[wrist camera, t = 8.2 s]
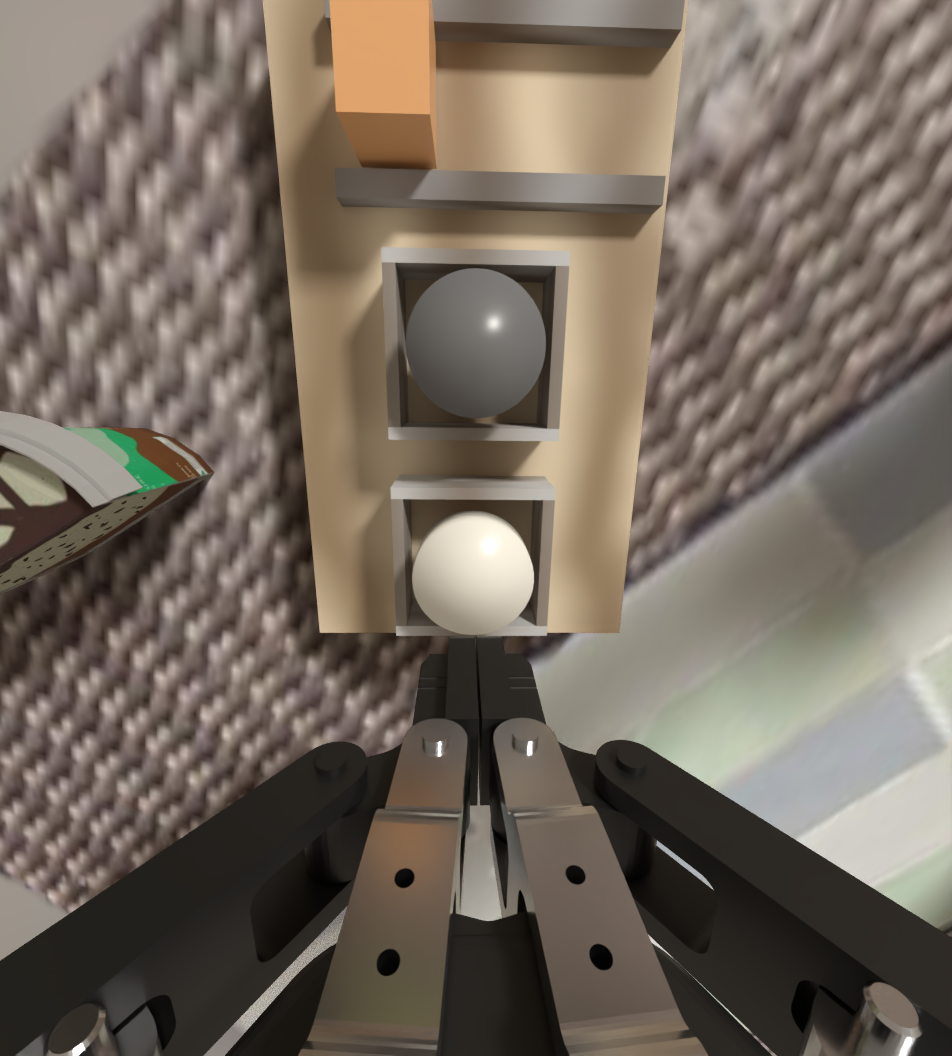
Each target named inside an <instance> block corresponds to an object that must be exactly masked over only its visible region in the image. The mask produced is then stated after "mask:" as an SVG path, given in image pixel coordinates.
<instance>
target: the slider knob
mask: <svg viewBox="0 0 952 1056" xmlns="http://www.w3.org/2000/svg"><path fill="white" fill-rule="evenodd" d="M329 1H330V18H331V35H332V52H333V69H334V86H335V103H336V113H337V115H338V117H339V119H340V121H341V123H342V126H343V128H344V130H345V132H346V134H347V136H348V138H349V141H350V143H351V145H352V147H353V149H354V151H355V153H356V156H357V158H358V160H359V162H360V164H361V166H362V167H379V168H419V169H437V130H436V42H435V30H434V18H433V6H432V0H329Z"/></svg>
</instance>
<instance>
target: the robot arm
mask: <svg viewBox="0 0 952 1056" xmlns="http://www.w3.org/2000/svg"><path fill="white" fill-rule="evenodd" d="M478 768H479V790H480V805H490V813H491V829H490V839H491V847H492V853H493V860H494V867H495V874H496V880H497V887H498V894H499V901H500V907H501V914H502V919H498V920H495V921H483V920H479V919H475V918H471V917H468V916H464V915H461V910H462V896H463V882H464V867H465V853H466V831H467V829H468V827H469V821H470V805H477V793H478ZM657 840H658V841H659V842H660V843H662V844H663V845H664V846H665V847H667V848H668V849H669V850H671V851H672V852H673V853H675V854H676V855H677V856H678V857H680V858H681V859H682V860H684V861H685V862H686V863H688V864H689V865H690V866H691V867H693V868H694V869H695V870H697V871H698V872H699V873H700V874H702V875H703V876H704V877H705V878H706V879H707V881H708V882H709V883H710V884H711V886H712V887H713V889H714V890H712V889H711V888H710V887H709V886H707V885H706V884H705V883H703V882H702V881H701V880H700V879H698V878H697V877H696V876H695V875H693V874H692V873H691V872H689V871H688V870H687V869H686V868H684V867H683V866H682V865H680V864H679V863H678V862H677V861H675V860H674V859H673V858H671V857H670V856H669V855H668V854H666V853H665V852H664V851H663V850H661V849H660V848H659V847H657V846H656V843H657ZM347 905H348V907H347V910H346V913H345V917H344V920H343V924H342V927H341V931H340V934H339V937H338V941H337V943H336V944H334V945H333V946H331V947H329V948H328V949H326V950H325V951H324V952H322V953H321V954H320V955H318V956H317V957H316V958H314V959H313V960H312V961H311V962H310V963H309V964H308V965H307V966H305V967H304V968H303V969H302V970H301V971H300V972H299V973H298V974H297V975H296V976H295V977H294V978H293V979H292V980H291V982H290V983H289V984H288V985H287V986H286V987H285V988H284V989H283V991H282V992H281V993H280V994H279V995H278V996H277V997H276V998H275V1000H274V1001H273V1002H272V1003H271V1004H270V1005H269V1006H268V1007H267V1009H266V1010H265V1011H264V1012H263V1013H262V1014H261V1015H260V1017H259V1018H258V1019H257V1020H256V1021H255V1022H254V1023H253V1024H252V1026H251V1027H250V1028H249V1029H248V1030H247V1031H246V1032H245V1033H244V1035H243V1036H242V1037H241V1038H240V1039H239V1040H238V1041H237V1042H236V1044H235V1045H234V1046H233V1047H232V1048H231V1049H230V1050H229V1051H228V1053H227V1054H226V1055H225V1056H772V1055H771V1054H770V1053H769V1052H768V1051H767V1050H766V1049H765V1048H764V1047H763V1046H762V1045H761V1044H760V1043H759V1042H758V1041H757V1040H756V1039H755V1038H754V1037H753V1036H752V1035H751V1034H750V1033H749V1032H748V1031H747V1030H746V1029H745V1028H744V1027H743V1026H742V1025H741V1024H740V1023H739V1022H738V1021H737V1020H736V1019H735V1018H734V1017H733V1016H732V1015H731V1014H730V1013H729V1012H728V1011H727V1010H726V1009H725V1008H724V1007H723V1006H722V1005H721V1004H720V1003H719V1002H718V1001H720V1002H721V1003H722V1004H723V1005H724V1006H725V1007H726V1008H727V1009H728V1010H729V1011H730V1012H731V1013H732V1014H733V1015H734V1016H735V1017H737V1018H738V1019H739V1020H740V1021H741V1022H742V1023H743V1024H744V1025H745V1026H746V1027H747V1028H748V1029H749V1030H750V1031H751V1032H752V1033H753V1034H755V1035H756V1036H757V1037H758V1038H759V1039H760V1040H761V1041H762V1042H763V1043H764V1044H765V1045H766V1046H767V1047H768V1048H769V1049H770V1050H771V1051H773V1052H774V1053H775V1054H776V1055H777V1056H952V938H951V937H950V936H948V935H947V934H945V933H943V932H942V931H940V930H939V929H937V928H935V927H934V926H932V925H931V924H929V923H927V922H926V921H924V920H923V919H921V918H919V917H918V916H916V915H915V914H913V913H911V912H910V911H908V910H907V909H905V908H903V907H902V906H900V905H899V904H897V903H895V902H894V901H892V900H891V899H889V898H887V897H886V896H884V895H883V894H881V893H879V892H878V891H876V890H875V889H873V888H871V887H870V886H868V885H867V884H865V883H863V882H862V881H860V880H859V879H857V878H855V877H854V876H852V875H851V874H849V873H847V872H846V871H844V870H843V869H841V868H839V867H838V866H836V865H835V864H833V863H831V862H830V861H828V860H827V859H825V858H823V857H822V856H820V855H819V854H817V853H815V852H814V851H812V850H811V849H809V848H807V847H806V846H804V845H803V844H801V843H799V842H798V841H796V840H795V839H793V838H791V837H790V836H788V835H787V834H785V833H783V832H782V831H780V830H779V829H777V828H775V827H774V826H772V825H771V824H769V823H767V822H766V821H764V820H763V819H761V818H759V817H758V816H756V815H755V814H753V813H751V812H750V811H748V810H747V809H745V808H743V807H742V806H740V805H739V804H737V803H735V802H734V801H732V800H731V799H729V798H727V797H726V796H724V795H723V794H721V793H719V792H718V791H716V790H715V789H713V788H711V787H710V786H708V785H707V784H705V783H703V782H702V781H700V780H699V779H697V778H695V777H694V776H692V775H691V774H689V773H687V772H686V771H684V770H683V769H681V768H679V767H678V766H676V765H675V764H673V763H671V762H670V761H668V760H667V759H665V758H663V757H662V756H660V755H659V754H657V753H655V752H654V751H652V750H651V749H649V748H647V747H645V746H644V745H641V744H639V743H636V742H632V741H627V740H614V741H610V742H607V743H605V744H603V745H602V746H601V747H600V748H599V749H598V751H597V754H596V755H593V754H588V753H584V752H580V751H577V750H573V749H571V748H568V747H566V746H564V745H563V744H561V743H560V742H558V741H557V738H556V736H555V734H554V732H553V731H552V730H551V729H550V728H549V727H548V726H547V725H546V722H545V718H544V715H543V711H542V707H541V703H540V699H539V695H538V691H537V689H536V683H535V679H534V675H533V671H532V667H531V664H530V663H529V662H528V661H527V660H526V659H525V658H524V657H523V656H522V655H521V654H505V652H504V646H503V640H502V636H477V637H476V655H475V637H449V652H448V654H430V655H429V656H428V658H427V659H426V660H425V661H424V662H423V663H422V665H421V670H420V678H419V684H418V691H417V698H416V705H415V712H414V719H413V726H412V727H411V728H410V729H409V730H408V731H407V733H406V734H405V736H404V739H403V743H402V744H400V745H399V746H398V747H396V748H394V749H392V750H390V751H388V752H385V753H381V754H378V755H374V756H370V757H366V755H365V752H364V751H363V750H362V749H361V748H360V747H359V746H357V745H355V744H352V743H349V742H331V743H327V744H324V745H321V746H319V747H316V748H315V749H313V750H311V751H310V752H308V753H307V754H305V755H304V756H302V757H301V758H299V759H298V760H296V761H295V762H293V763H292V764H290V765H289V766H287V767H286V768H284V769H283V770H282V771H280V772H279V773H277V774H276V775H274V776H273V777H271V778H270V779H268V780H267V781H265V782H264V783H262V784H261V785H259V786H258V787H256V788H255V789H253V790H252V791H250V792H249V793H248V794H246V795H245V796H243V797H242V798H240V799H239V800H237V801H236V802H234V803H233V804H231V805H230V806H228V807H227V808H225V809H224V810H222V811H221V812H219V813H218V814H216V815H215V816H214V817H212V818H211V819H209V820H208V821H206V822H205V823H203V824H202V825H200V826H199V827H197V828H196V829H194V830H193V831H191V832H190V833H188V834H187V835H185V836H184V837H182V838H181V839H180V840H178V841H177V842H175V843H174V844H172V845H171V846H169V847H168V848H166V849H165V850H163V851H162V852H160V853H159V854H157V855H156V856H154V857H153V858H151V859H150V860H148V861H147V862H146V863H144V864H143V865H141V866H140V867H138V868H137V869H135V870H134V871H132V872H131V873H129V874H128V875H126V876H125V877H123V878H122V879H120V880H119V881H117V882H116V883H114V884H113V885H112V886H110V887H109V888H107V889H106V890H104V891H103V892H101V893H100V894H98V895H97V896H95V897H94V898H92V899H91V900H89V901H88V902H86V903H85V904H83V905H82V906H80V907H79V908H78V909H76V910H75V911H73V912H72V913H70V914H69V915H67V916H66V917H64V918H63V919H61V920H60V921H58V922H57V923H55V924H54V925H52V926H51V927H49V928H48V929H46V930H45V931H44V932H42V933H41V934H39V935H38V936H36V937H35V938H33V939H32V940H30V941H29V942H27V943H26V944H24V945H23V946H21V947H20V948H19V949H17V950H15V951H14V952H12V953H11V954H10V955H8V956H7V957H5V958H4V959H2V960H1V961H0V1056H203V1055H204V1054H205V1053H206V1052H207V1051H208V1050H209V1049H210V1048H211V1047H212V1046H213V1045H214V1044H215V1043H216V1042H217V1041H218V1040H219V1039H220V1038H221V1037H222V1035H224V1033H225V1032H226V1031H227V1030H228V1029H229V1028H230V1027H231V1026H232V1025H233V1024H234V1023H235V1022H236V1021H237V1020H238V1019H239V1018H240V1017H241V1016H242V1015H243V1014H244V1013H245V1012H246V1011H247V1010H248V1009H249V1007H250V1006H251V1005H252V1004H253V1003H254V1002H255V1001H256V1000H257V999H258V998H259V997H260V996H261V995H262V994H263V993H264V992H265V991H266V990H267V989H268V988H269V987H270V986H271V985H272V984H273V982H274V981H275V980H276V979H277V978H278V977H279V976H280V975H281V974H282V973H283V972H284V971H285V970H286V969H287V968H288V967H289V966H290V965H291V964H292V963H293V962H294V961H295V960H296V959H297V957H298V956H299V955H300V954H301V953H302V952H303V951H304V950H305V949H306V948H307V947H308V946H309V945H310V944H311V943H312V942H313V941H314V940H315V939H316V938H317V937H318V936H319V935H320V934H321V932H322V931H323V930H324V929H325V928H326V927H327V926H328V925H329V924H330V923H331V922H332V921H333V920H334V919H335V918H336V917H337V916H338V915H339V914H340V913H341V912H342V911H343V910H344V909H345V907H346V906H347ZM648 935H650V936H651V937H652V938H653V939H654V940H655V941H656V942H657V943H658V944H659V945H660V946H661V947H662V948H663V949H664V950H665V951H667V952H668V953H669V954H670V955H671V956H672V957H673V958H674V959H675V960H676V961H675V960H674V959H673V958H672V957H670V956H669V955H668V954H667V953H665V952H664V951H663V950H661V949H660V948H658V947H657V946H655V945H654V944H652V943H651V941H650V938H649V936H648ZM684 968H685V969H686V970H687V971H688V972H689V973H690V974H691V975H692V976H693V977H694V978H695V979H696V980H697V981H698V982H699V983H700V984H702V985H703V986H704V987H705V988H706V989H707V990H708V991H709V992H710V993H711V994H712V995H713V996H714V997H715V998H716V999H717V1000H718V1001H717V1000H716V999H715V998H714V997H712V996H711V995H710V994H709V993H708V992H707V991H706V990H705V989H704V988H703V987H702V986H701V985H700V984H699V983H698V982H697V981H696V980H695V979H694V978H693V977H692V976H691V975H690V974H689V973H688V972H687V971H686V970H685V969H684Z"/></svg>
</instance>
